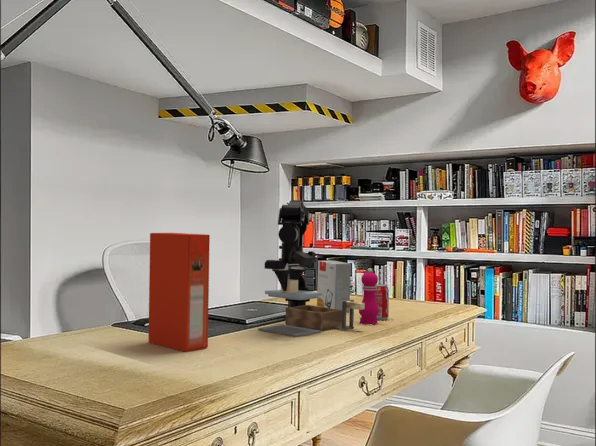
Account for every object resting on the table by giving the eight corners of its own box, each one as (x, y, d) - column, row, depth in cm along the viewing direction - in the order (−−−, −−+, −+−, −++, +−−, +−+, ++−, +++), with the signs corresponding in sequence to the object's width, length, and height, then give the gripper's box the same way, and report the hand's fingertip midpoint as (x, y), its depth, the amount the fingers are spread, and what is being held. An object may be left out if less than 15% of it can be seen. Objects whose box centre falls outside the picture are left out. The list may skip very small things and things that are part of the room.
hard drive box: (316, 307, 261) (317, 260, 261) (332, 307, 264) (333, 260, 264) (333, 313, 247) (334, 263, 247) (350, 312, 250) (351, 263, 250)
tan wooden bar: (341, 307, 211) (341, 301, 211) (345, 306, 213) (345, 300, 213) (360, 309, 206) (360, 303, 206) (364, 309, 207) (364, 303, 207)
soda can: (389, 320, 231) (390, 286, 231) (370, 320, 231) (371, 285, 231) (387, 317, 238) (388, 284, 238) (368, 317, 238) (369, 283, 238)
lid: (264, 296, 205) (265, 278, 206) (287, 294, 214) (287, 277, 214) (299, 300, 195) (300, 282, 196) (321, 298, 204) (322, 280, 204)
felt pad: (257, 329, 205) (257, 328, 205) (282, 325, 214) (282, 324, 214) (296, 337, 194) (296, 335, 194) (320, 332, 203) (320, 330, 203)
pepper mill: (372, 325, 219) (373, 269, 219) (354, 323, 223) (356, 267, 223) (382, 323, 225) (383, 268, 225) (365, 320, 229) (366, 266, 229)
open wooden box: (285, 325, 216) (286, 296, 216) (309, 321, 226) (310, 294, 226) (330, 333, 203) (331, 303, 203) (354, 328, 212) (354, 299, 212)
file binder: (184, 352, 168) (187, 234, 168) (147, 342, 180) (150, 232, 180) (207, 348, 174) (210, 234, 174) (170, 339, 186) (172, 232, 186)
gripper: (290, 243, 191) (288, 294, 191) (327, 243, 205) (326, 291, 205) (263, 242, 198) (262, 291, 198) (301, 242, 213) (300, 288, 212)
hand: (289, 290), depth 203 cm, fingers closed on lid, 4 cm apart
